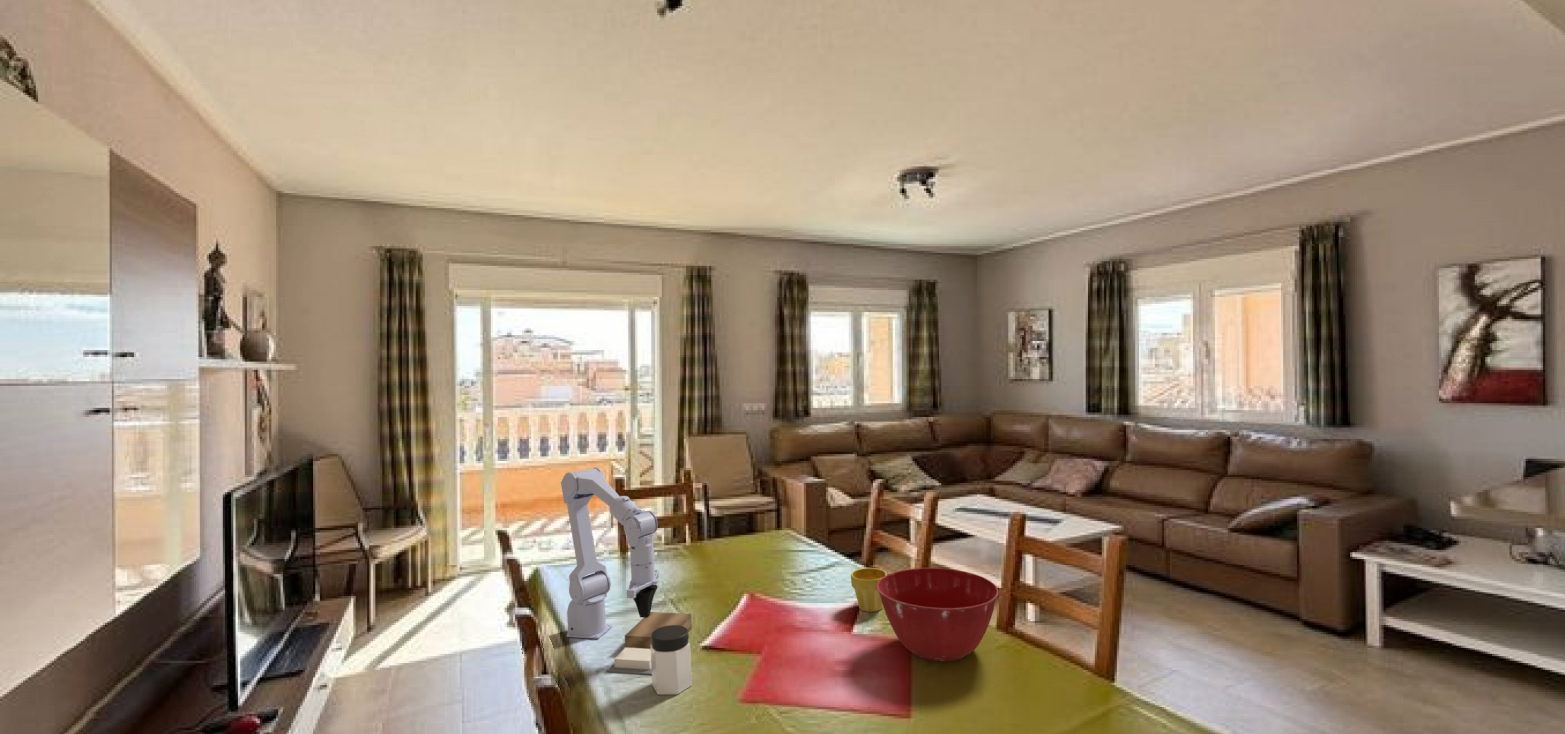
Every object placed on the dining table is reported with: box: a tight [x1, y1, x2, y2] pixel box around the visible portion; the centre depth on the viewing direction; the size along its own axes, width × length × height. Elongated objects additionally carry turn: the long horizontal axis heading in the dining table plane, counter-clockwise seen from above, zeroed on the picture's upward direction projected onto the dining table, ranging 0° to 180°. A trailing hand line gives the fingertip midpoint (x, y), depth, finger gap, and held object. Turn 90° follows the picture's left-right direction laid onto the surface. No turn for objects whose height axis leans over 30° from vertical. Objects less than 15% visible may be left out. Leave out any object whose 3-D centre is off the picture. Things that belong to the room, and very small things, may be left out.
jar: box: [650, 625, 693, 696], centre depth 142 cm, size 9×8×12 cm
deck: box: [624, 611, 693, 649], centre depth 166 cm, size 12×15×4 cm
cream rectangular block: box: [613, 647, 652, 670], centre depth 153 cm, size 9×6×2 cm, turn 78°
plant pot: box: [850, 567, 888, 613], centre depth 181 cm, size 10×10×10 cm
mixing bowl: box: [877, 567, 999, 662], centre depth 154 cm, size 28×28×15 cm
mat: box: [606, 663, 652, 676], centre depth 153 cm, size 12×10×1 cm
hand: (644, 616), depth 158 cm, fingers closed
